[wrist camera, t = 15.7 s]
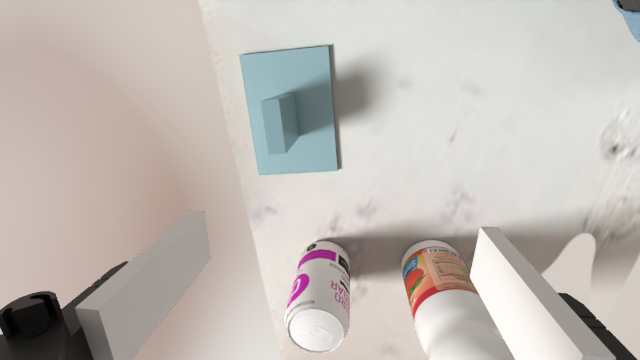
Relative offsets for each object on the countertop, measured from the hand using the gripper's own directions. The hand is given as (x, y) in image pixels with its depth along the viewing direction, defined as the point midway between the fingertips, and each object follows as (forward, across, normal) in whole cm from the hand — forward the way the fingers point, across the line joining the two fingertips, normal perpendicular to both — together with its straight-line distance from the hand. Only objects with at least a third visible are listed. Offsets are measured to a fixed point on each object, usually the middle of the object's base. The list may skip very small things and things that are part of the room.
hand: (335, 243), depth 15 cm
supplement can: (+30, +3, +22) cm, 38 cm away
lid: (+31, +8, -2) cm, 32 cm away
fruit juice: (+31, -14, +21) cm, 40 cm away
